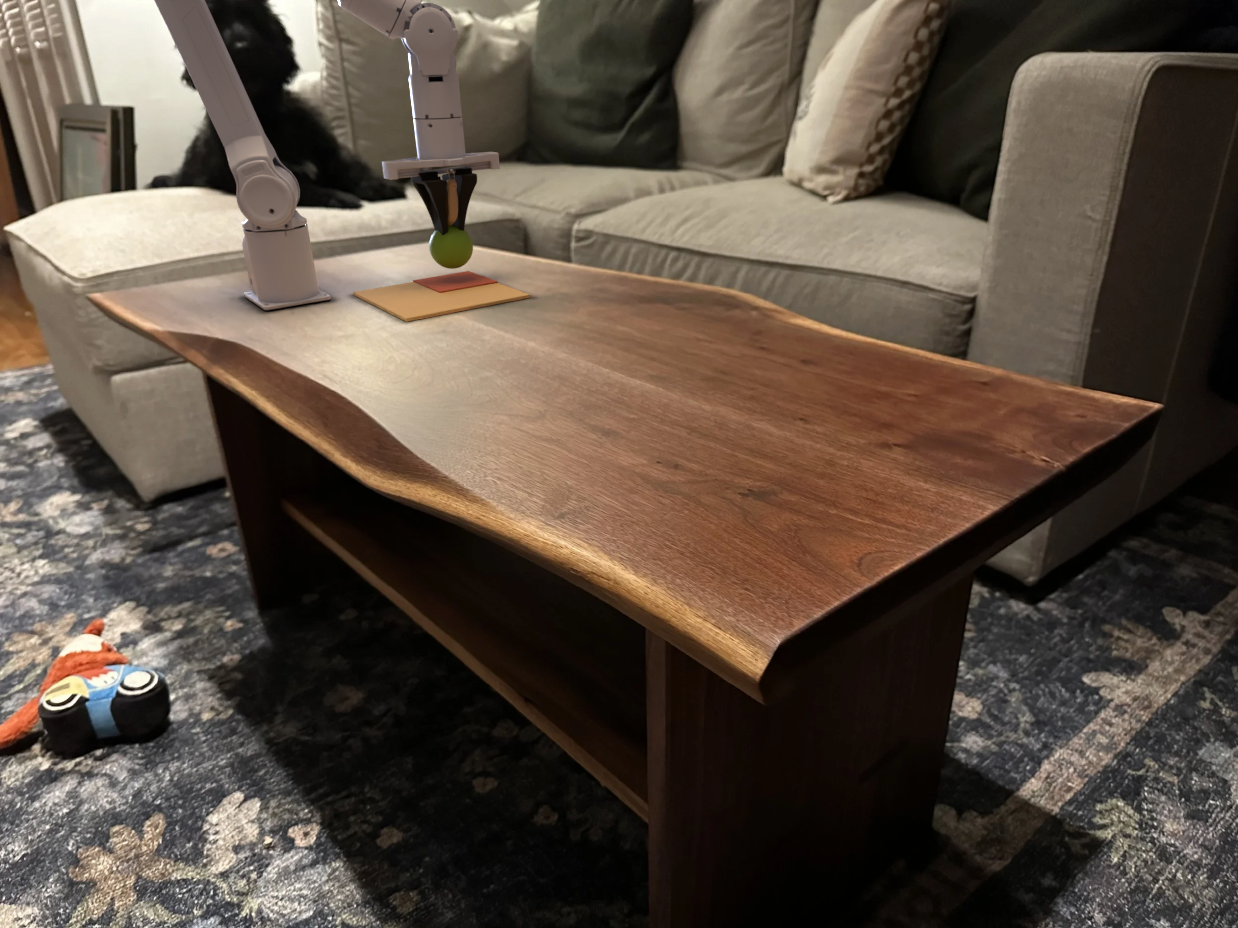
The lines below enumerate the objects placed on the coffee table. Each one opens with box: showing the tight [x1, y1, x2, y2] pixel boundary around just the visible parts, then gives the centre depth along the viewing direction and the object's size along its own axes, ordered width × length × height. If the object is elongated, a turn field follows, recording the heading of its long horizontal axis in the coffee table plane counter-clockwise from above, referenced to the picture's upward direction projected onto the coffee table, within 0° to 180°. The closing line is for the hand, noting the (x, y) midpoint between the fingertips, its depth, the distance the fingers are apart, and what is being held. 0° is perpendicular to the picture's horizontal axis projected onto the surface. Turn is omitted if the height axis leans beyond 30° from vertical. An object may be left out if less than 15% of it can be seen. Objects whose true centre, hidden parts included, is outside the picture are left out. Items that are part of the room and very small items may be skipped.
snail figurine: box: [428, 168, 474, 270], centre depth 108 cm, size 5×6×12 cm
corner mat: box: [352, 270, 531, 322], centre depth 106 cm, size 16×16×1 cm
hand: (449, 234), depth 109 cm, fingers closed on snail figurine
